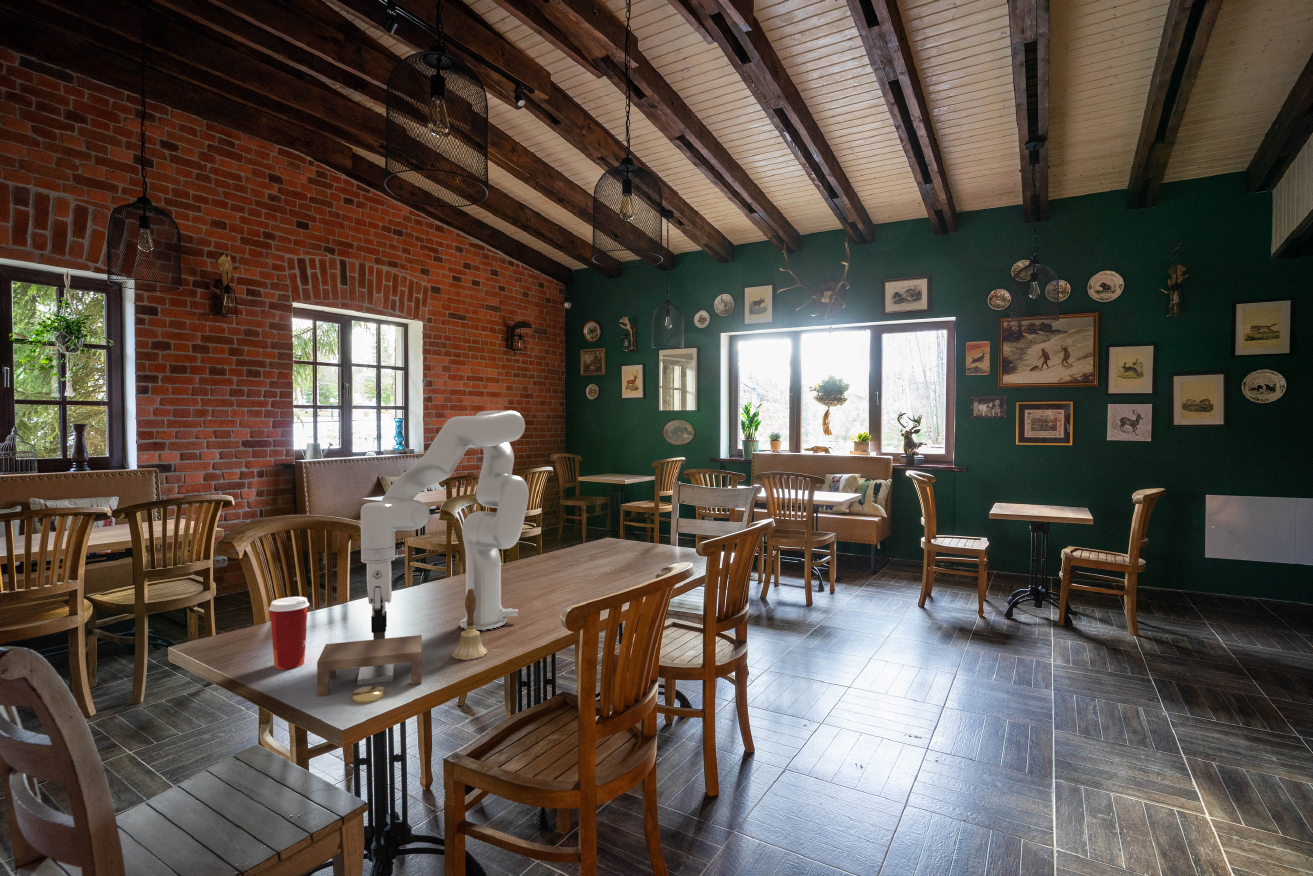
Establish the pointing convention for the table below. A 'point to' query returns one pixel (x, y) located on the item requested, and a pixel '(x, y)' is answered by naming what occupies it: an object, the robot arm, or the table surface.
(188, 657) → the table surface
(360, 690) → the brass puck
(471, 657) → the hand bell
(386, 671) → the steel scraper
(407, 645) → the walnut bench
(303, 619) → the coffee cup
